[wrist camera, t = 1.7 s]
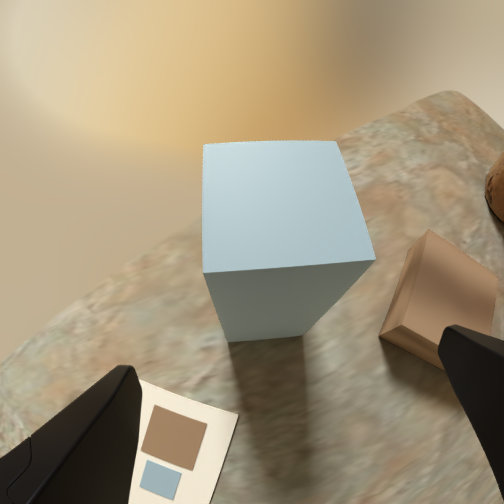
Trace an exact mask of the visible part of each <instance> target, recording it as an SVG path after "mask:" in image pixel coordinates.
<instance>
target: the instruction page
mask: <svg viewBox="0 0 504 504" xmlns="http://www.w3.org/2000/svg"><path fill="white" fill-rule="evenodd" d="M139 382H140V384H141V387H142V393H143V395H142V406H141V418H140V431H139V442H138V449H137V454H136V459H135V465H134V471H133V477H132V483H131V489H130V496H129V503H128V504H209V502H210V499H211V497H212V494H213V491H214V488H215V485H216V482H217V479H218V476H219V473H220V470H221V467H222V464H223V461H224V458H225V455H226V452H227V449H228V446H229V443H230V440H231V437H232V434H233V431H234V428H235V424H236V421H237V418H238V415H239V414H235V413H232V412H228V411H225V410H222V409H218V408H215V407H212V406H209V405H206V404H203V403H200V402H197V401H194V400H191V399H188V398H185V397H183V396H180V395H177V394H175V393H172V392H169V391H167V390H164V389H162V388H159V387H157V386H154V385H152V384H149V383H147V382H145V381H142V380H140V379H139Z"/></svg>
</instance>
